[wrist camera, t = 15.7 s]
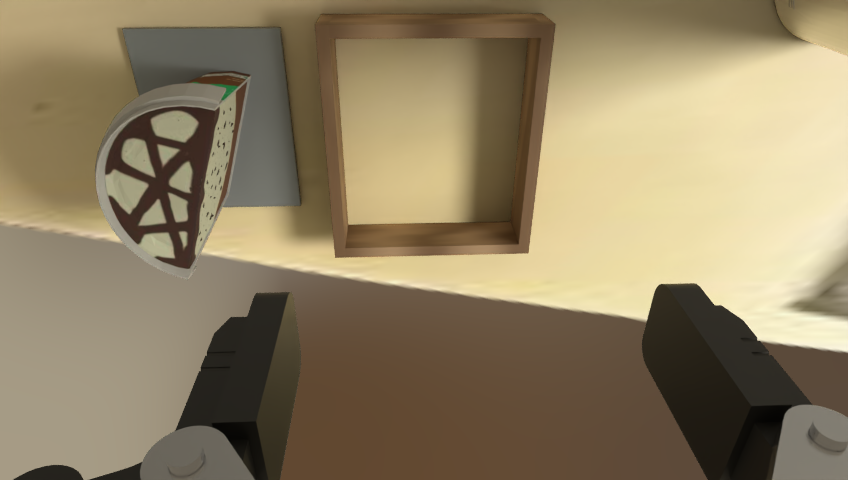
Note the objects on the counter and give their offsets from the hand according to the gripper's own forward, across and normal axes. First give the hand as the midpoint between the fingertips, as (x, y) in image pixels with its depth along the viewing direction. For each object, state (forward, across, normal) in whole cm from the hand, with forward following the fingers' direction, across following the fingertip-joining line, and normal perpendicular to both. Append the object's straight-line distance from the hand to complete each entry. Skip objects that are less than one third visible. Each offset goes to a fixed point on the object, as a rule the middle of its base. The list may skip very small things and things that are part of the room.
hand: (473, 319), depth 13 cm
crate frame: (+30, -1, +7) cm, 31 cm away
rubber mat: (+30, +14, +6) cm, 34 cm away
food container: (+30, +16, +6) cm, 34 cm away
